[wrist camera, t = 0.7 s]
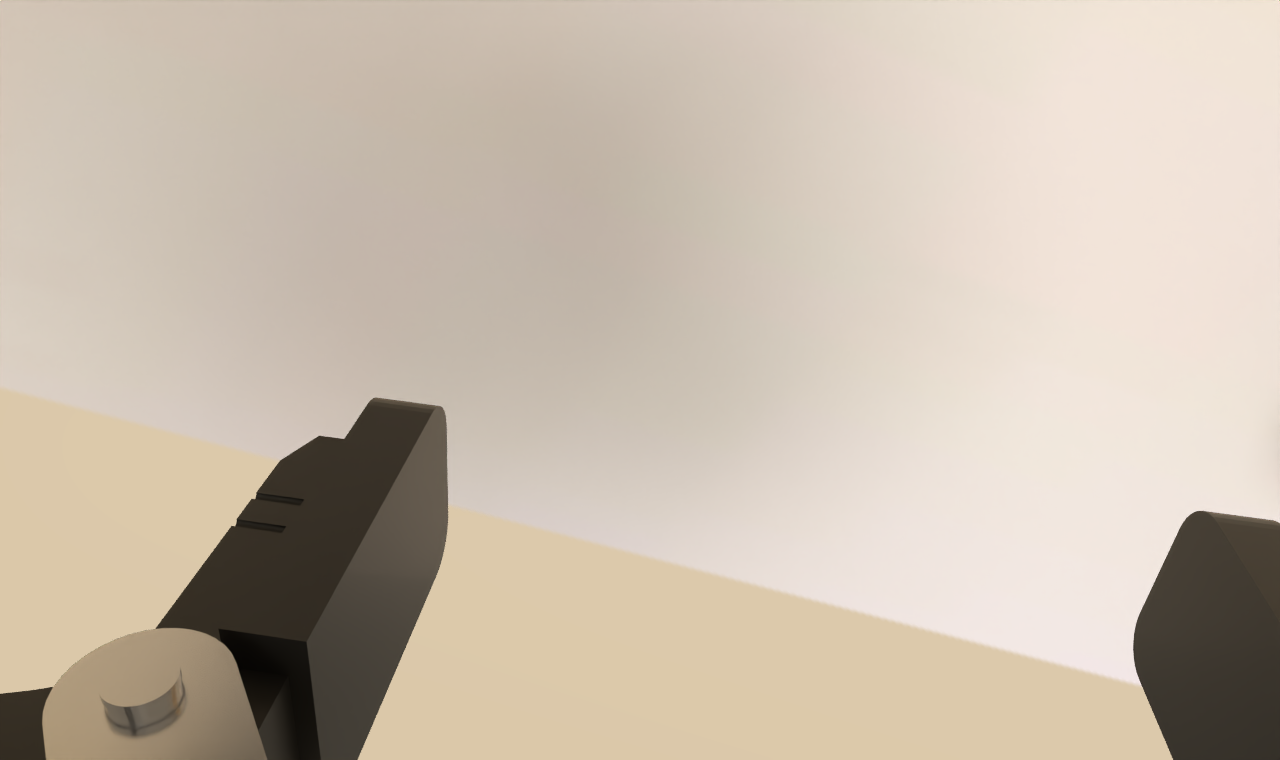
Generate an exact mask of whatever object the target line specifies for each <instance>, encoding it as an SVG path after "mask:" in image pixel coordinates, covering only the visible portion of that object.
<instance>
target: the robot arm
mask: <svg viewBox="0 0 1280 760" xmlns="http://www.w3.org/2000/svg"><path fill="white" fill-rule="evenodd" d="M447 525H448V486H447V427H446V416H445V412H444V410H443V408H442V407H441V406H434V405H427V404H419V403H412V402H404V401H397V400H390V399H382V398H373V399H372V400H371V401H370V402H369V403H368V404H367V406H366V407H365V409H364V410H363V412H362V413H361V415H360V416H359V418H358V419H357V421H356V422H355V424H354V425H353V427H352V428H351V430H350V431H349V433H348V434H347V436H346V437H345V439H339V438H332V437H324V436H318V437H316V438H315V439H313V440H312V441H310V442H309V443H307V444H306V445H304V446H302V447H301V448H299V449H298V450H296V451H295V452H293V453H291V454H290V455H288V456H287V457H285V458H284V459H282V460H280V462H279V463H278V464H277V466H276V467H275V468H274V470H273V471H272V472H271V474H270V475H269V476H268V478H267V479H266V480H265V482H264V483H263V484H262V486H261V487H260V488H259V490H258V491H257V495H256V499H251V501H250V502H249V503H248V505H247V506H246V507H245V509H244V510H243V511H242V513H241V514H240V516H239V517H238V518H237V523H236V526H231V528H230V529H229V530H228V532H227V533H226V534H225V536H224V537H223V538H222V540H221V541H220V543H219V544H218V545H217V547H216V548H215V549H214V551H213V552H212V553H211V555H210V556H209V557H208V559H207V560H206V561H205V563H204V564H203V565H202V567H201V568H200V569H199V571H198V572H197V573H196V575H195V576H194V578H193V579H192V580H191V582H190V583H189V584H188V586H187V587H186V588H185V590H184V591H183V592H182V594H181V595H180V596H179V598H178V599H177V600H176V602H175V603H174V605H173V606H172V607H171V609H170V610H169V611H168V613H167V614H166V615H165V617H164V618H163V619H162V621H161V622H160V623H159V625H158V626H157V627H156V629H153V630H146V631H141V632H137V633H133V634H129V635H127V636H124V637H121V638H118V639H115V640H113V641H111V642H109V643H107V644H104V645H102V646H100V647H99V648H97V649H95V650H94V651H92V652H90V653H89V654H87V655H85V656H84V657H83V658H81V659H80V660H79V661H78V662H77V663H75V664H74V665H72V666H71V667H70V668H69V669H68V670H67V672H65V673H64V674H63V675H62V676H61V678H60V679H59V680H58V682H57V683H56V684H55V686H54V687H50V688H44V689H38V690H31V691H22V692H14V693H4V694H0V760H357V759H358V757H359V755H360V752H361V750H362V748H363V745H364V743H365V741H366V739H367V736H368V734H369V732H370V729H371V727H372V725H373V722H374V720H375V718H376V715H377V713H378V710H379V708H380V705H381V704H382V701H383V699H384V697H385V694H386V692H387V690H388V687H389V685H390V682H391V680H392V678H393V675H394V673H395V671H396V669H397V666H398V664H399V661H400V659H401V657H402V654H403V652H404V650H405V648H406V645H407V643H408V640H409V638H410V636H411V634H412V631H413V629H414V627H415V624H416V622H417V619H418V617H419V615H420V613H421V610H422V608H423V605H424V603H425V601H426V598H427V596H428V594H429V592H430V589H431V587H432V584H433V582H434V580H435V578H436V575H437V573H438V570H439V567H440V564H441V560H442V556H443V552H444V547H445V542H446V535H447ZM1133 651H1134V662H1135V667H1136V671H1137V675H1138V677H1139V680H1140V682H1141V685H1142V687H1143V689H1144V692H1145V694H1146V696H1147V699H1148V701H1149V704H1150V706H1151V708H1152V711H1153V713H1154V715H1155V718H1156V720H1157V722H1158V725H1159V727H1160V729H1161V731H1162V734H1163V737H1164V739H1165V741H1166V743H1167V746H1168V748H1169V751H1170V753H1171V755H1172V758H1173V760H1280V523H1278V522H1276V521H1273V520H1266V519H1258V518H1251V517H1243V516H1236V515H1229V514H1221V513H1214V512H1206V511H1197V512H1194V513H1192V514H1191V515H1189V516H1188V517H1187V518H1186V520H1185V521H1184V522H1183V524H1182V526H1181V527H1180V529H1179V531H1178V534H1177V536H1176V538H1175V540H1174V542H1173V544H1172V546H1171V548H1170V551H1169V553H1168V555H1167V557H1166V559H1165V561H1164V563H1163V565H1162V568H1161V570H1160V572H1159V574H1158V576H1157V578H1156V580H1155V582H1154V585H1153V587H1152V589H1151V591H1150V593H1149V595H1148V597H1147V600H1146V602H1145V604H1144V606H1143V608H1142V610H1141V612H1140V615H1139V617H1138V620H1137V623H1136V627H1135V633H1134V643H1133Z"/></svg>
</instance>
